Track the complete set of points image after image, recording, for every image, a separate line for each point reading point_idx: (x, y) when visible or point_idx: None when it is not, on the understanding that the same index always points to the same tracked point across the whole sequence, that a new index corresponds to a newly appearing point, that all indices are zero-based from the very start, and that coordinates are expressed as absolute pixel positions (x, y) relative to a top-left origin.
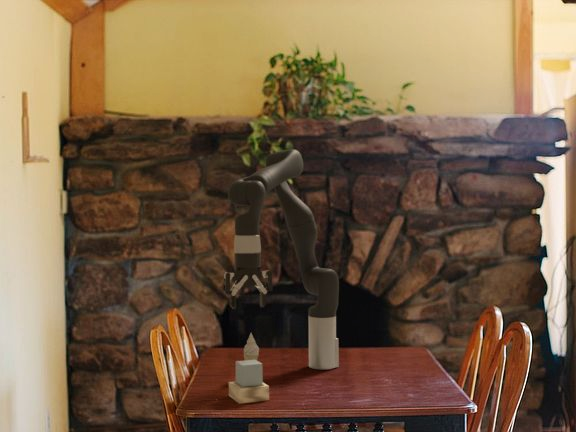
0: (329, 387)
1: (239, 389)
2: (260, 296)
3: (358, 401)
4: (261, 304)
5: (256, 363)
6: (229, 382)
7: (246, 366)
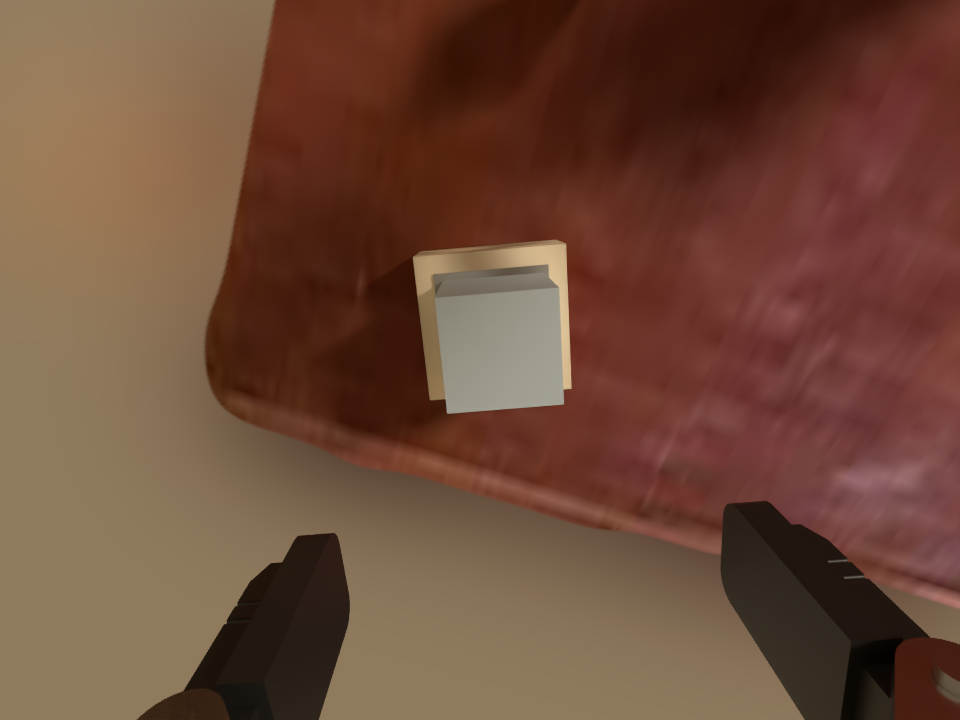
0: (883, 258)
1: (432, 398)
2: (809, 638)
3: (862, 488)
4: (737, 578)
5: (534, 391)
6: (414, 266)
7: (470, 408)
